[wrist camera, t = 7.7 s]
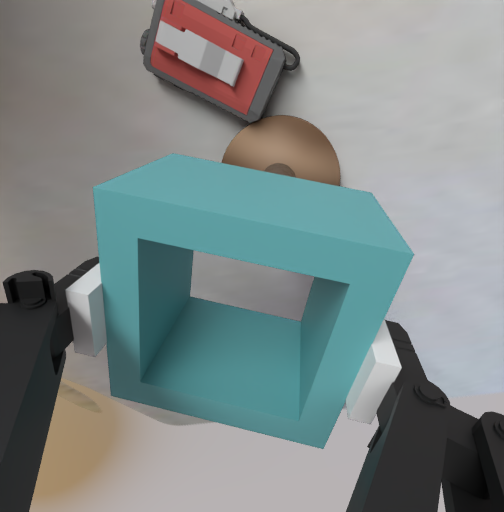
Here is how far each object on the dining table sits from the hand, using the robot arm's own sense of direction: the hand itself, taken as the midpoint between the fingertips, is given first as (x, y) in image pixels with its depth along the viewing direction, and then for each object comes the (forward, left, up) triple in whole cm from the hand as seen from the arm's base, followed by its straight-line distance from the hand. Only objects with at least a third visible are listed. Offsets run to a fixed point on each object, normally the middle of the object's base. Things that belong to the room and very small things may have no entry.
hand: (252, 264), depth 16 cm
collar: (0, 0, 0) cm, 0 cm away
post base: (0, 0, -19) cm, 19 cm away
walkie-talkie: (-11, -10, -20) cm, 25 cm away
